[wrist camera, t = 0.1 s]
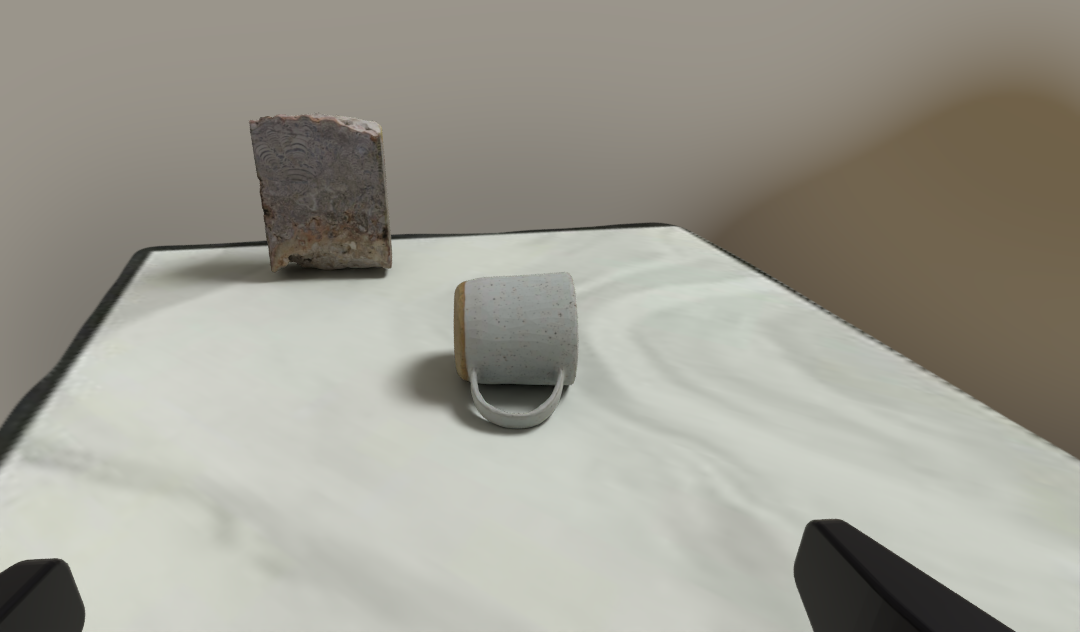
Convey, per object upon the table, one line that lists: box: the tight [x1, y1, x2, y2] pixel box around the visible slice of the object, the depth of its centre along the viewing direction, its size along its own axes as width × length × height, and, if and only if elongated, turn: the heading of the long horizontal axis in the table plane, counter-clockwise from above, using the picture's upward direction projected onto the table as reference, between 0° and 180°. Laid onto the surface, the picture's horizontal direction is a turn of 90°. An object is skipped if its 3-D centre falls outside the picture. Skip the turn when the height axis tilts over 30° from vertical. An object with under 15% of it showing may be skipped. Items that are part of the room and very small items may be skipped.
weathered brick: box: [249, 113, 392, 272], centre depth 56 cm, size 11×6×15 cm, turn 102°
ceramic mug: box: [454, 272, 578, 428], centre depth 41 cm, size 11×8×8 cm
